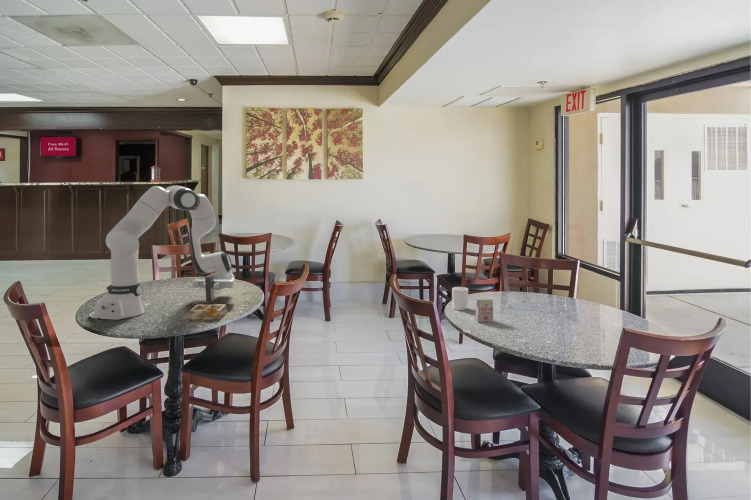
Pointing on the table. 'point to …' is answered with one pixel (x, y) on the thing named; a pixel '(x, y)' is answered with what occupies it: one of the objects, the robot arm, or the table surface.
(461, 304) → the white cup
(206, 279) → the block
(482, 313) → the red and white carton
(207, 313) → the wooden divided box
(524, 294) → the table surface
